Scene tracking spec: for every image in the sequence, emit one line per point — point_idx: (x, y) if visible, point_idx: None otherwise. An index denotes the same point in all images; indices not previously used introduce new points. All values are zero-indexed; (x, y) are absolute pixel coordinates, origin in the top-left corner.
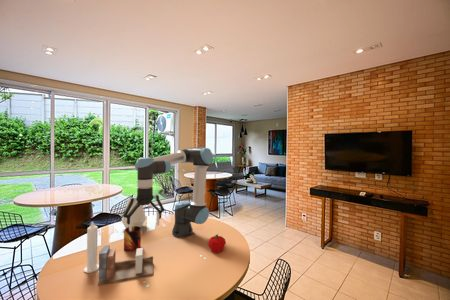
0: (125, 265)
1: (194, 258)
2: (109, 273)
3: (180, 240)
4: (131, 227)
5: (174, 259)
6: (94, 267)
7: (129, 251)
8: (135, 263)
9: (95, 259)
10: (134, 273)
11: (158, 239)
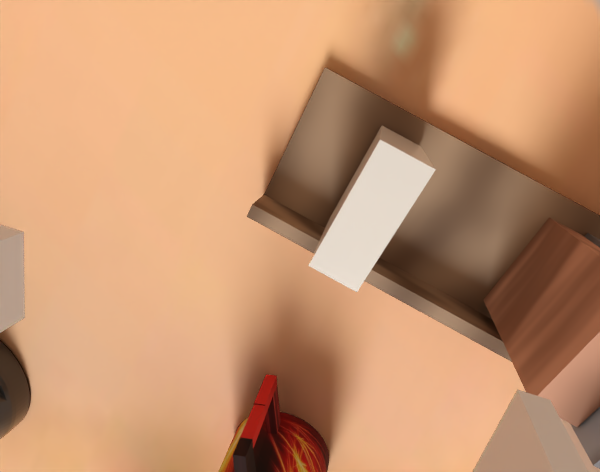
0: (422, 285)
1: (20, 35)
2: (585, 240)
3: None
4: (546, 452)
5: (134, 133)
6: None
7: (311, 428)
8: None
9: (580, 455)
10: None
11: (119, 419)
